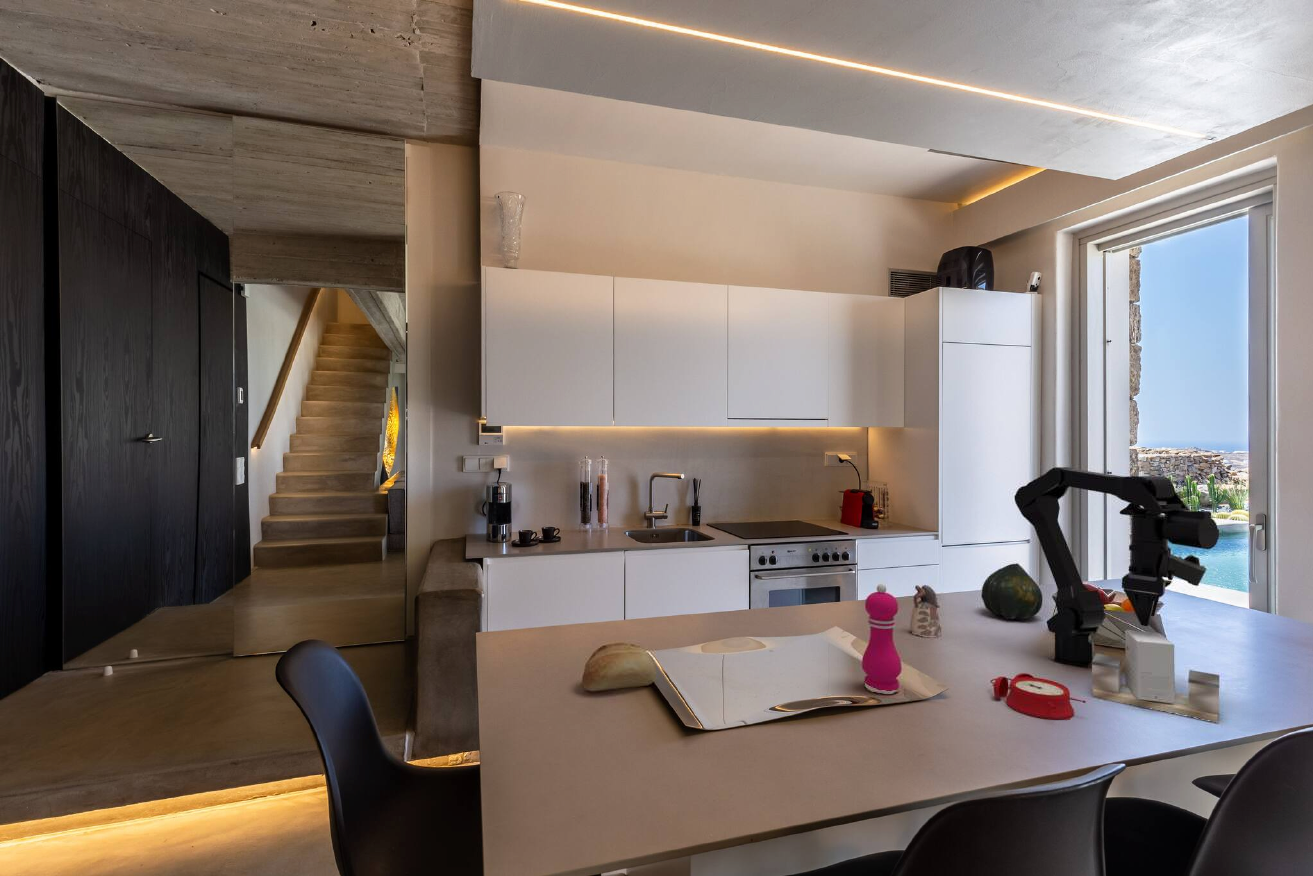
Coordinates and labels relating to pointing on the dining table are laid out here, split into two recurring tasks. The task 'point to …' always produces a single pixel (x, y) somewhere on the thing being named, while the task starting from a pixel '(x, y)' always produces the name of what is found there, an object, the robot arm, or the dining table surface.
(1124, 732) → the dining table surface
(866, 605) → the pepper mill
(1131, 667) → the small box
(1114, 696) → the grey metal u-shaped piece
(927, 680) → the dining table surface
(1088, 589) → the robot arm
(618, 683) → the bread roll
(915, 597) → the figurine
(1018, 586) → the squash
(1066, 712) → the alarm clock
